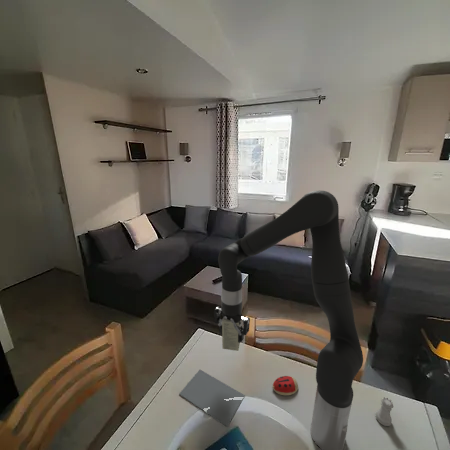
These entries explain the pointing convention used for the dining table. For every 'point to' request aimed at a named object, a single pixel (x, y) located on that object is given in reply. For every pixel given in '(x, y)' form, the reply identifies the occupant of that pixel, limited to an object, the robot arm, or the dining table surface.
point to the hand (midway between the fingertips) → (231, 337)
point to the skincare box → (229, 335)
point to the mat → (212, 396)
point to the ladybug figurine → (285, 385)
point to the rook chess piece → (384, 412)
